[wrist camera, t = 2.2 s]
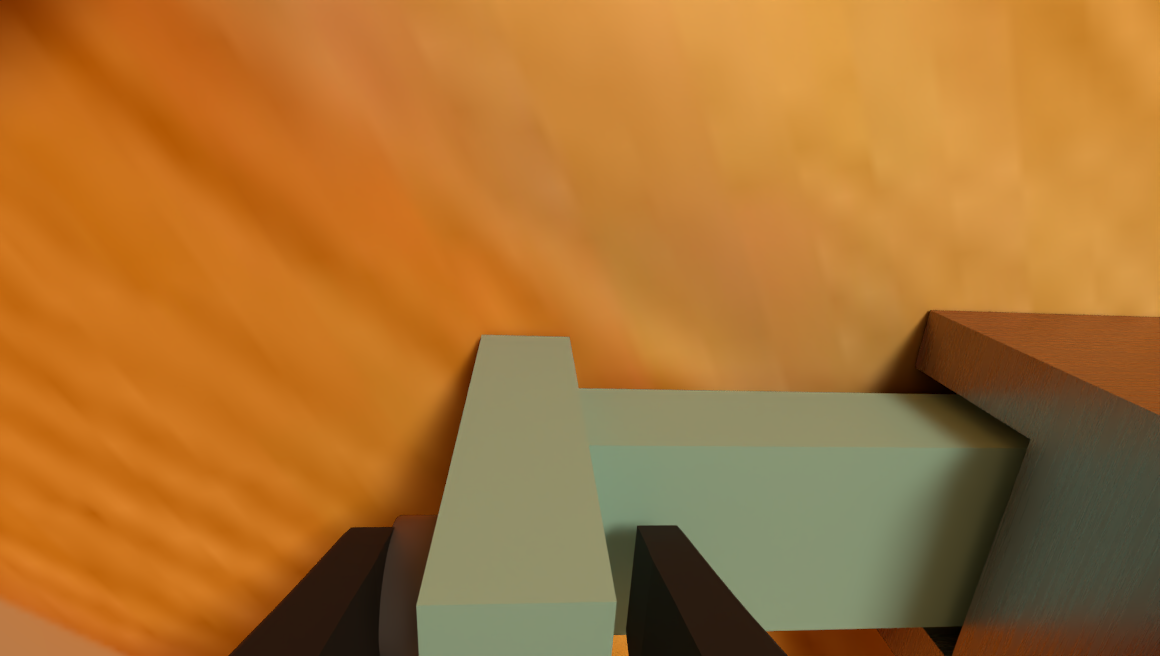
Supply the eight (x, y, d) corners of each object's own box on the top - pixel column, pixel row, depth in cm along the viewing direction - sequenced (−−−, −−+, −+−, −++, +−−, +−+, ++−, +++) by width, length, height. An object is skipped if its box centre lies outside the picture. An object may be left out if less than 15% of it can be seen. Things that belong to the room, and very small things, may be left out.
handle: (1109, 350, 11) (1706, 580, 6) (1022, 570, 13) (1404, 915, 7) (425, 333, 10) (285, 608, 4) (435, 579, 12) (343, 1005, 6)
